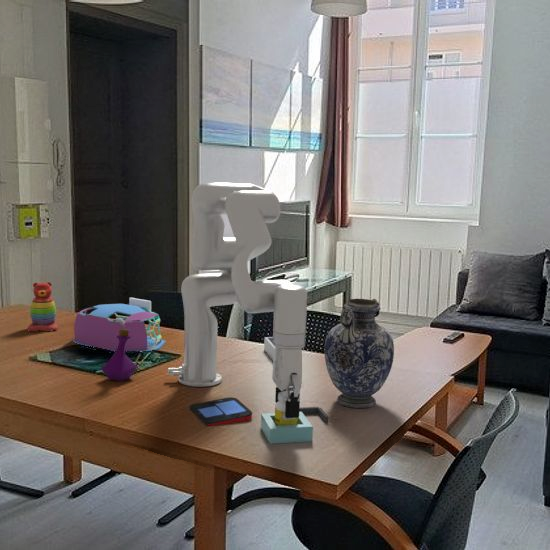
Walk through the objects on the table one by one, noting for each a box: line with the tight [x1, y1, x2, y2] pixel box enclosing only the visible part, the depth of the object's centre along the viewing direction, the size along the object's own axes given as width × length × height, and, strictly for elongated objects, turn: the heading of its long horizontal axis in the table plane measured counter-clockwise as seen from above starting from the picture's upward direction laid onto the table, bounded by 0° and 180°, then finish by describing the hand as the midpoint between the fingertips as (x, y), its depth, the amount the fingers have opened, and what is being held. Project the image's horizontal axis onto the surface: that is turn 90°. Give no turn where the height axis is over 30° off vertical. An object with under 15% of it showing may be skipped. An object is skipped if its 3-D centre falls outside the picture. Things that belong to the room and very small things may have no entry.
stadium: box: [71, 297, 167, 352], centre depth 239 cm, size 35×24×14 cm
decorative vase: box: [324, 298, 395, 409], centre depth 182 cm, size 21×19×28 cm
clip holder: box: [263, 336, 275, 361], centre depth 229 cm, size 8×16×4 cm, turn 13°
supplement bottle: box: [274, 391, 298, 426], centre depth 159 cm, size 5×5×10 cm
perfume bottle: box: [101, 317, 138, 382], centre depth 196 cm, size 8×8×18 cm
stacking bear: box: [26, 282, 59, 332], centre depth 256 cm, size 11×10×18 cm
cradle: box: [299, 406, 329, 423], centre depth 170 cm, size 9×7×2 cm
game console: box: [189, 396, 253, 427], centre depth 172 cm, size 14×13×2 cm
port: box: [260, 412, 314, 445], centre depth 159 cm, size 10×10×4 cm
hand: (286, 410), depth 158 cm, fingers open, 9 cm apart
